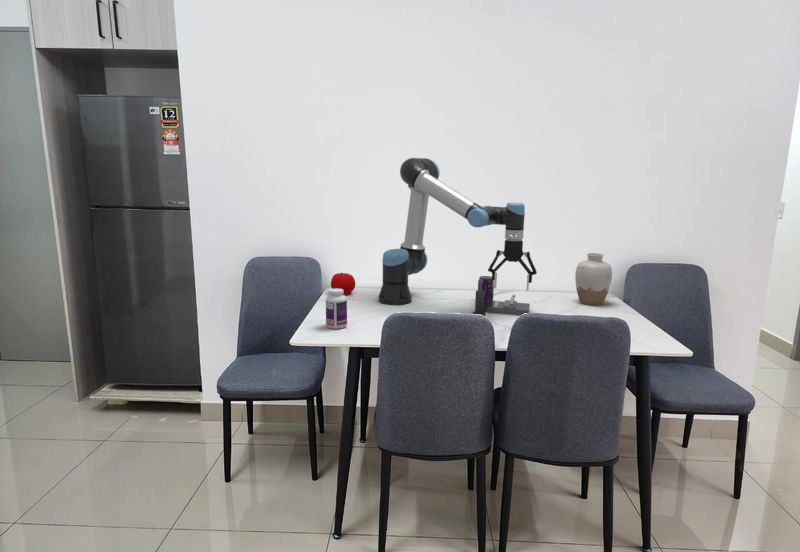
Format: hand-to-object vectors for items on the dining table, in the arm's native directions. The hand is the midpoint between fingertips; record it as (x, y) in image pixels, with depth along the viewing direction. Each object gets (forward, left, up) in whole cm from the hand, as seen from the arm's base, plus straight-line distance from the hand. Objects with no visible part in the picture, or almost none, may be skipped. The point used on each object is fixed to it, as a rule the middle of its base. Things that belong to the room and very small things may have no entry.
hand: (511, 289), depth 229 cm
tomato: (-80, +7, -10) cm, 81 cm away
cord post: (-12, -10, -10) cm, 18 cm away
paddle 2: (0, -2, -6) cm, 7 cm away
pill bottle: (-62, -45, -10) cm, 77 cm away
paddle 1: (0, +3, -6) cm, 7 cm away
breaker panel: (-3, 0, -10) cm, 10 cm away
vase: (+35, +27, -10) cm, 45 cm away
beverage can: (-12, +11, -10) cm, 19 cm away
